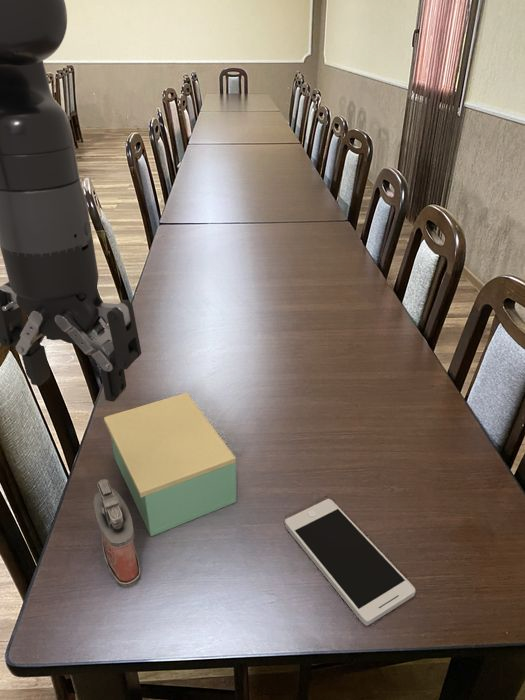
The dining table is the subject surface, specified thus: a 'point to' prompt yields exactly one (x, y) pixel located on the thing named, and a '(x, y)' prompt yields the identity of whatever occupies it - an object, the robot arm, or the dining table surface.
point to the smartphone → (350, 561)
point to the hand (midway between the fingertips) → (77, 388)
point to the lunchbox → (182, 497)
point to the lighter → (117, 536)
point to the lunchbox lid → (167, 443)
